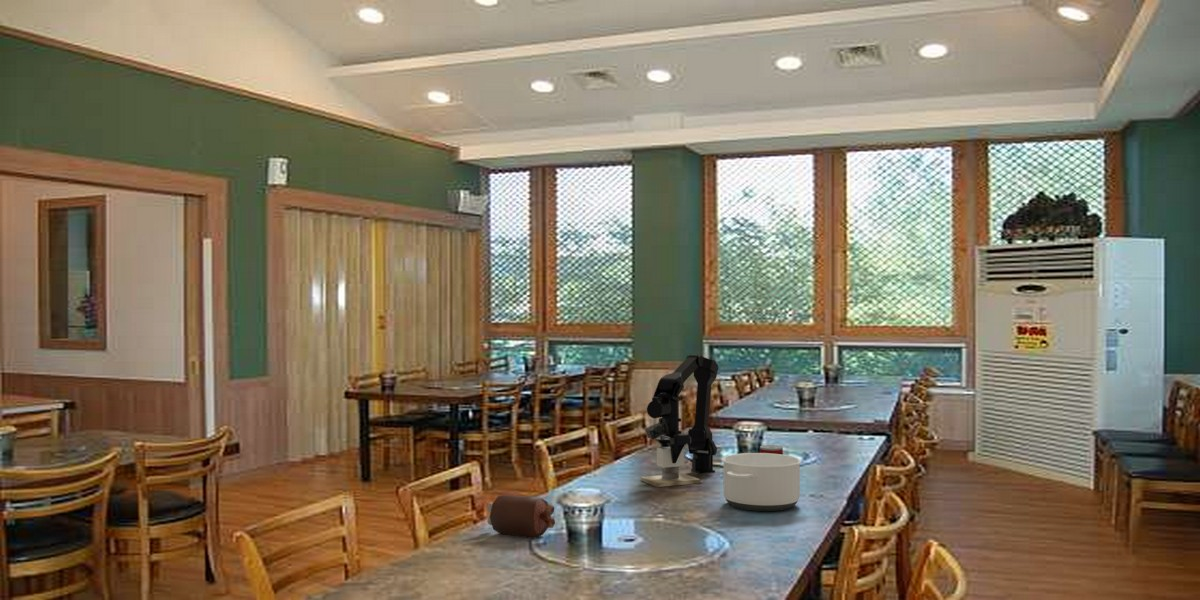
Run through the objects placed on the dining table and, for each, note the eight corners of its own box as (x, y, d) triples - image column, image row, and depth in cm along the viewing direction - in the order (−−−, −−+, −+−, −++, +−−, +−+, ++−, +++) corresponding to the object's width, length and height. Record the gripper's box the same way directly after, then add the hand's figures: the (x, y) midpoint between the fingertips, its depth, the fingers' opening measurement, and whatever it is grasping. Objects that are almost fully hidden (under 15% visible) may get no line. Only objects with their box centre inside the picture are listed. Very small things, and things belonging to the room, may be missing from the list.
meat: (475, 536, 243) (475, 497, 243) (500, 527, 253) (500, 489, 253) (542, 544, 234) (541, 503, 234) (565, 534, 244) (564, 494, 244)
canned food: (781, 477, 321) (781, 445, 321) (784, 481, 313) (783, 448, 313) (759, 477, 322) (758, 444, 322) (760, 481, 314) (760, 448, 314)
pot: (772, 521, 257) (772, 471, 257) (698, 510, 271) (698, 463, 271) (821, 500, 284) (821, 455, 284) (752, 491, 298) (752, 448, 298)
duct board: (683, 476, 323) (683, 461, 323) (700, 483, 311) (700, 467, 311) (641, 480, 316) (641, 465, 316) (656, 486, 305) (656, 470, 305)
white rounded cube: (677, 463, 318) (677, 445, 318) (683, 465, 313) (683, 447, 313) (656, 465, 315) (656, 447, 315) (663, 467, 310) (663, 449, 310)
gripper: (636, 413, 319) (636, 459, 319) (661, 419, 302) (661, 468, 302) (665, 411, 324) (666, 457, 324) (691, 417, 307) (692, 465, 307)
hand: (670, 462), depth 314 cm, fingers closed on white rounded cube, 5 cm apart
